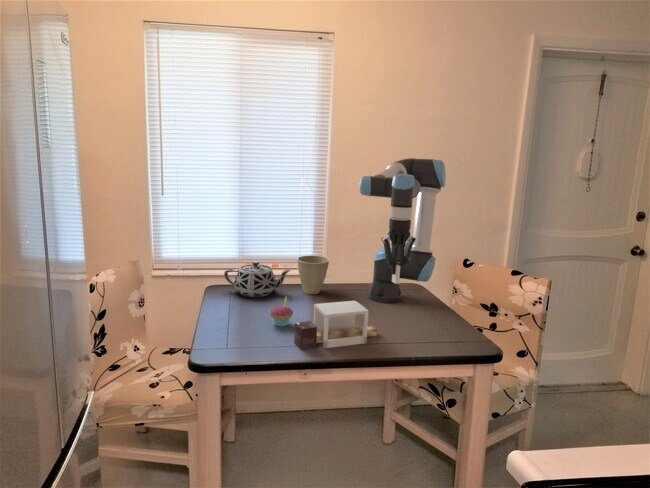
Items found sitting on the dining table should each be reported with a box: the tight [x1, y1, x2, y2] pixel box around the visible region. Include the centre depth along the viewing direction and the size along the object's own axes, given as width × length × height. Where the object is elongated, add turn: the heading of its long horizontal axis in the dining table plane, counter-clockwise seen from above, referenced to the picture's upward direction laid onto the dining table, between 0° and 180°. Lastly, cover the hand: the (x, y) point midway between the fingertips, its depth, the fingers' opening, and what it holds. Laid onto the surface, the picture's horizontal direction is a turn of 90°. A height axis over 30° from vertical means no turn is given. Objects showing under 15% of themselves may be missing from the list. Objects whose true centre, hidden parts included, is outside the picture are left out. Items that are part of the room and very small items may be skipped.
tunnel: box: [312, 300, 369, 349], centre depth 161 cm, size 16×11×12 cm
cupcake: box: [269, 294, 294, 327], centre depth 172 cm, size 9×8×12 cm
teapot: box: [223, 260, 292, 298], centre depth 207 cm, size 19×31×15 cm, turn 88°
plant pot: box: [296, 255, 330, 295], centre depth 213 cm, size 15×15×16 cm
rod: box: [317, 325, 378, 344], centre depth 163 cm, size 25×3×3 cm, turn 112°
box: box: [293, 320, 318, 350], centre depth 155 cm, size 6×6×7 cm
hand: (395, 282), depth 166 cm, fingers closed
